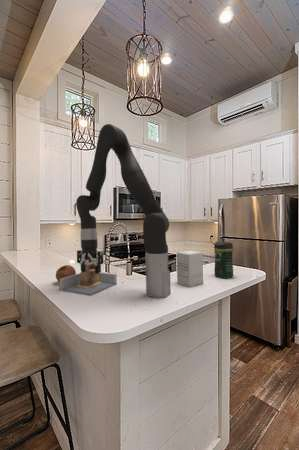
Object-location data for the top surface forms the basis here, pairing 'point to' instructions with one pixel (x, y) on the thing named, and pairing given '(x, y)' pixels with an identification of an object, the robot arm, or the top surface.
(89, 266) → the food item
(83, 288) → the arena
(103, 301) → the top surface
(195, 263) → the supplement box
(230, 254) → the coffee jar
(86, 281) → the walnut brick
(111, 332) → the top surface
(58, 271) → the onion
